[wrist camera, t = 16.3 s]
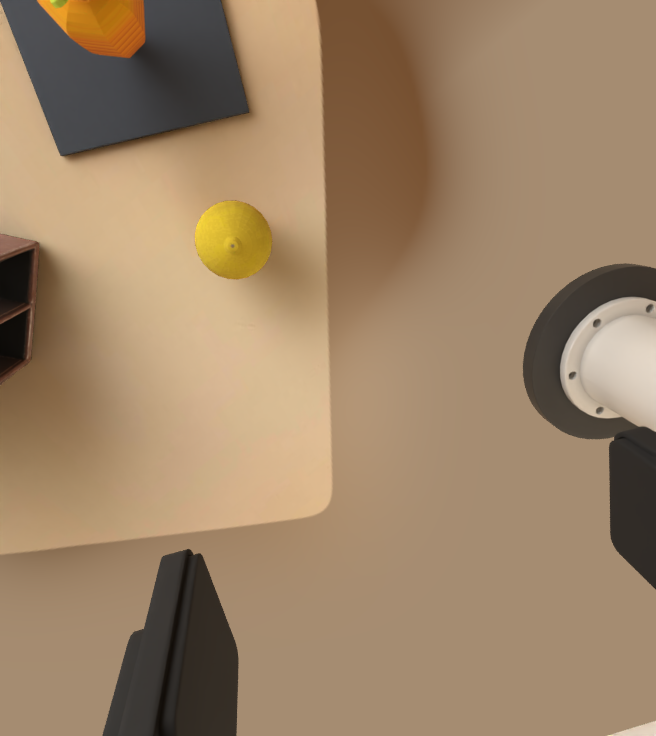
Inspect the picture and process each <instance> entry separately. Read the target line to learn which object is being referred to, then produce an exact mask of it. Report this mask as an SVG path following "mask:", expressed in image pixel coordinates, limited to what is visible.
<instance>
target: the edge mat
mask: <svg viewBox="0 0 656 736" xmlns="http://www.w3.org/2000/svg"><path fill="white" fill-rule="evenodd" d="M0 2H1V4H2V7H3V9H4V12H5V14H6V17H7V20H8V22H9V25H10V27H11V30H12V32H13V35H14V37H15V40H16V43H17V45H18V48H19V50H20V53H21V55H22V58H23V61H24V63H25V66H26V68H27V71H28V73H29V76H30V79H31V81H32V84H33V86H34V89H35V91H36V94H37V96H38V99H39V102H40V104H41V107H42V109H43V112H44V114H45V117H46V120H47V122H48V125H49V127H50V130H51V132H52V135H53V137H54V140H55V143H56V145H57V148H58V150H59V153H60V155H61V156H66V155H70V154H74V153H79V152H83V151H87V150H91V149H96V148H100V147H104V146H108V145H113V144H117V143H121V142H125V141H130V140H134V139H138V138H143V137H147V136H151V135H155V134H160V133H164V132H168V131H172V130H177V129H181V128H185V127H189V126H194V125H198V124H202V123H206V122H211V121H215V120H219V119H223V118H228V117H232V116H236V115H241V114H245V113H249V108H248V104H247V101H246V97H245V93H244V89H243V85H242V81H241V77H240V73H239V69H238V65H237V61H236V57H235V54H234V50H233V46H232V42H231V38H230V34H229V30H228V26H227V22H226V18H225V14H224V10H223V7H222V3H221V0H144V18H145V43H144V44H143V45H142V46H141V47H140V48H139V49H138V50H137V51H136V52H135V53H134V54H133V55H132V57H131V58H123V57H114V56H105V55H98V54H94V53H91V52H89V51H88V50H86V49H85V48H83V47H82V46H80V45H79V44H78V43H76V42H75V41H74V40H72V39H71V38H70V37H69V36H68V35H67V34H66V33H65V32H64V30H63V29H62V28H61V27H60V26H59V25H58V24H57V23H56V22H55V21H54V19H53V18H52V17H51V16H50V15H49V14H48V13H47V12H46V11H45V10H44V8H43V7H42V6H41V5H40V4H39V3H38V1H37V0H0Z"/></svg>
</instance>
